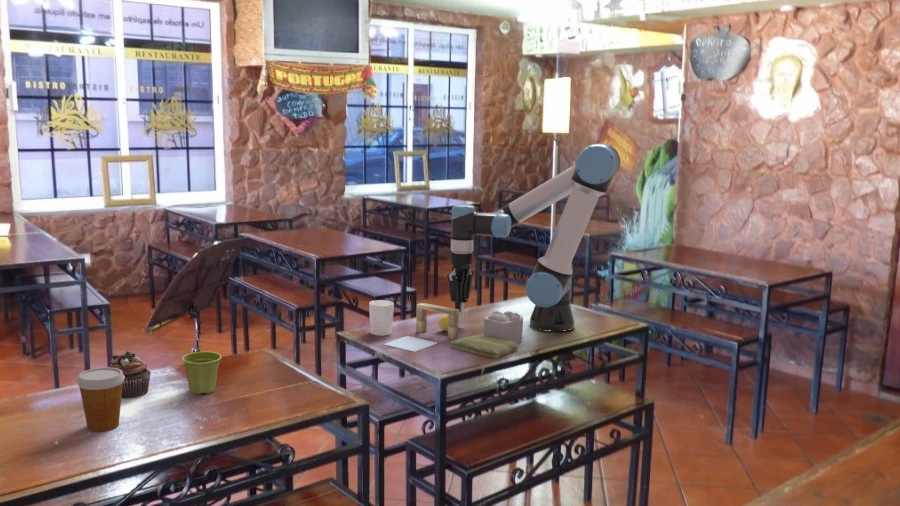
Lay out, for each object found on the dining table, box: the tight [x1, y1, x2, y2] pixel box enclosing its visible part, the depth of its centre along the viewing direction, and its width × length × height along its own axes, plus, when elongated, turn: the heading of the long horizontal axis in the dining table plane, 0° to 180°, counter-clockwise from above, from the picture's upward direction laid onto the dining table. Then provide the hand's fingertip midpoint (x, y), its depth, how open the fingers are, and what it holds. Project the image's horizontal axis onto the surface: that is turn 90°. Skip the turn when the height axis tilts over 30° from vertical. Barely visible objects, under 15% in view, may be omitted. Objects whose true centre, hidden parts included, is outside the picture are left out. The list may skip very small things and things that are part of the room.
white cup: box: [368, 299, 395, 337], centre depth 251 cm, size 8×8×10 cm
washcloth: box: [450, 335, 519, 359], centre depth 237 cm, size 13×18×3 cm
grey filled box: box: [483, 310, 524, 344], centre depth 248 cm, size 10×13×9 cm
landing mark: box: [382, 335, 439, 353], centre depth 240 cm, size 12×12×1 cm
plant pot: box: [181, 351, 223, 395], centre depth 194 cm, size 9×9×9 cm
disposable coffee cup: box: [76, 366, 125, 433], centre depth 169 cm, size 10×10×12 cm
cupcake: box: [108, 351, 152, 400], centre depth 190 cm, size 10×10×10 cm
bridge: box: [415, 302, 460, 341], centre depth 251 cm, size 3×14×9 cm, turn 56°
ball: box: [438, 314, 449, 332], centre depth 256 cm, size 6×6×6 cm
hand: (459, 321), depth 262 cm, fingers closed
